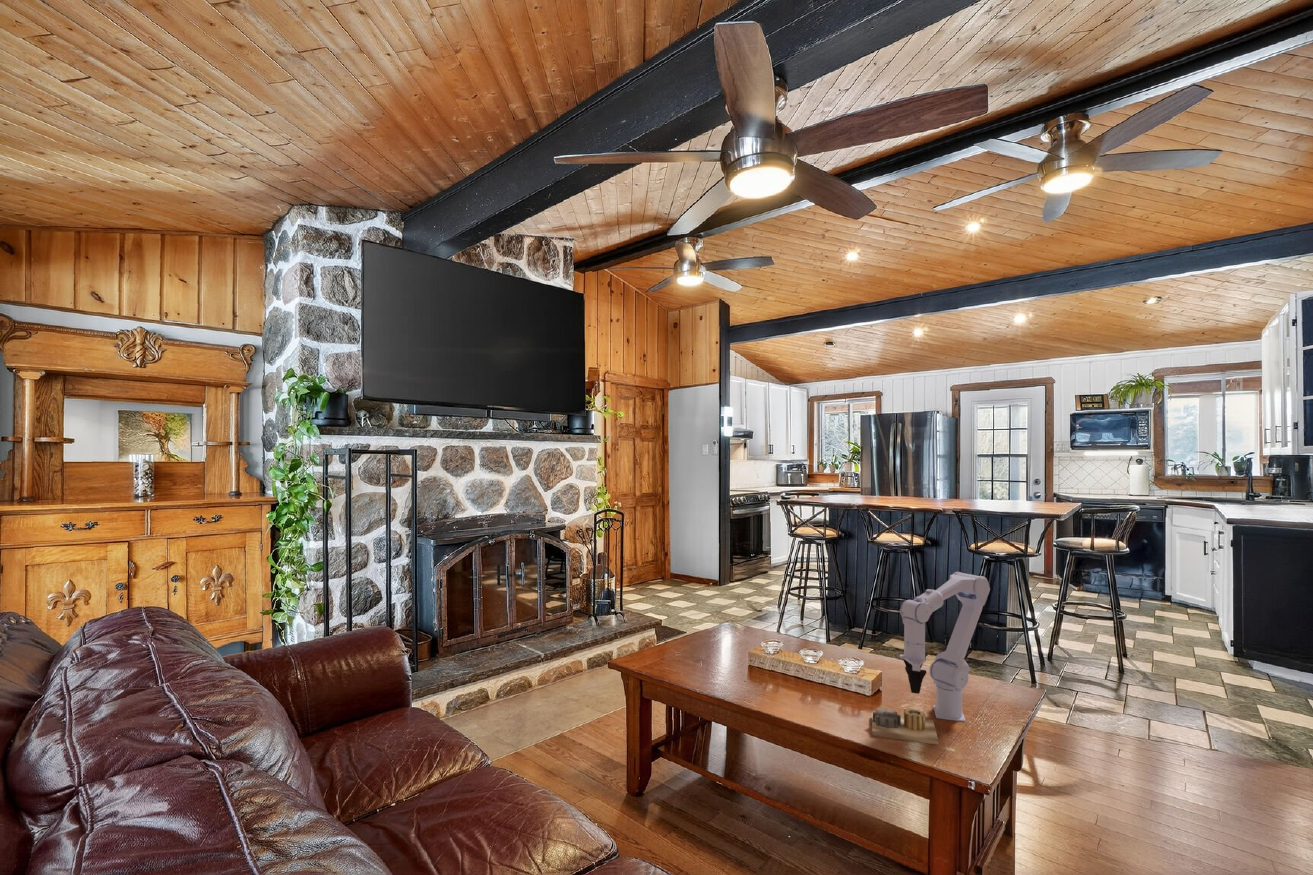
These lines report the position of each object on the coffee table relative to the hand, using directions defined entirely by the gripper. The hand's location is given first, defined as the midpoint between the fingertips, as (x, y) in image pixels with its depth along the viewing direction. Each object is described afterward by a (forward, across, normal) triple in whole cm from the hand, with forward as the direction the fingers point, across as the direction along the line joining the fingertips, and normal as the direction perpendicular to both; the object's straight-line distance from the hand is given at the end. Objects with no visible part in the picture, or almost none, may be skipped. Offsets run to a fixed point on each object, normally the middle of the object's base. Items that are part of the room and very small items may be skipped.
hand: (914, 688), depth 180 cm
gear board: (+11, +5, -3) cm, 12 cm away
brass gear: (+9, +5, 0) cm, 10 cm away
